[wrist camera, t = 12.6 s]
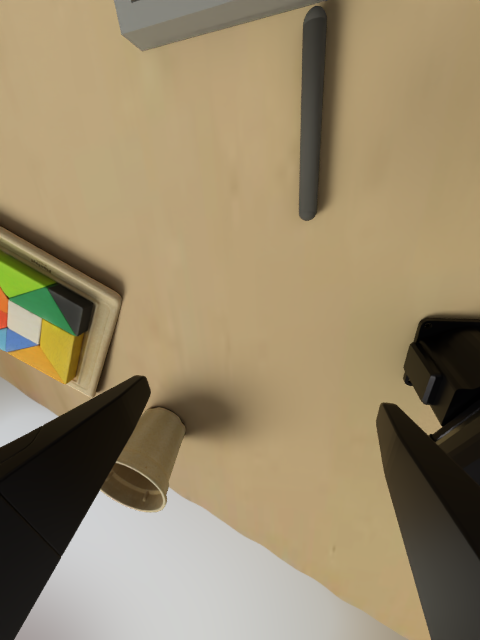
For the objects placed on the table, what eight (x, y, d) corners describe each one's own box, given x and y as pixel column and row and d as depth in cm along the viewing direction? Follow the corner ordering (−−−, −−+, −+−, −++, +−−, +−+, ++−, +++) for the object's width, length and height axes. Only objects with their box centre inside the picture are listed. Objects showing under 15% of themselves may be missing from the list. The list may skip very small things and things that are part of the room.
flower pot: (126, 391, 32) (74, 451, 25) (192, 402, 30) (156, 472, 23) (142, 437, 37) (101, 500, 30) (200, 450, 35) (172, 520, 28)
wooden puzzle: (127, 288, 25) (103, 302, 22) (101, 393, 35) (82, 412, 32) (-26, 201, 24) (-72, 203, 22) (-9, 333, 34) (-39, 347, 31)
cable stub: (326, 11, 13) (328, -4, 12) (316, 218, 18) (316, 221, 17) (303, 17, 13) (303, 3, 12) (298, 220, 18) (298, 222, 17)
